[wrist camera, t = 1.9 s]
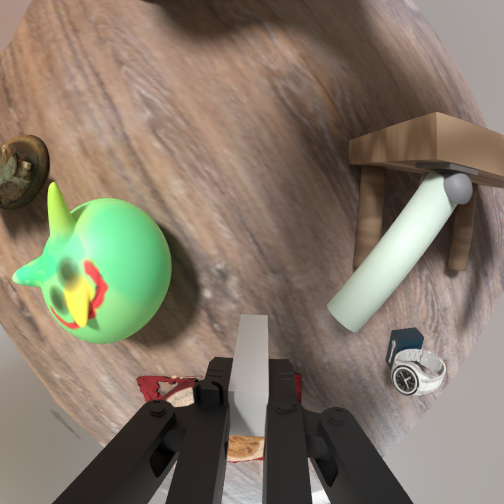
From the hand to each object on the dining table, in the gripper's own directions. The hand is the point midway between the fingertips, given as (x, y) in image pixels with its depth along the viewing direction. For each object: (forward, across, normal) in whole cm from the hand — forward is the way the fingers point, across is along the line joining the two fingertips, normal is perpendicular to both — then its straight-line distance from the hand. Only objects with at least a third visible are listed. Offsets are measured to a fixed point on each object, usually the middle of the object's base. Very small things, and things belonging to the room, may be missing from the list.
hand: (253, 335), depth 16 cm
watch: (+21, +22, -14) cm, 34 cm away
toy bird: (+21, -18, -2) cm, 28 cm away
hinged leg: (+5, +10, +5) cm, 12 cm away
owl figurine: (+21, -40, +12) cm, 47 cm away
